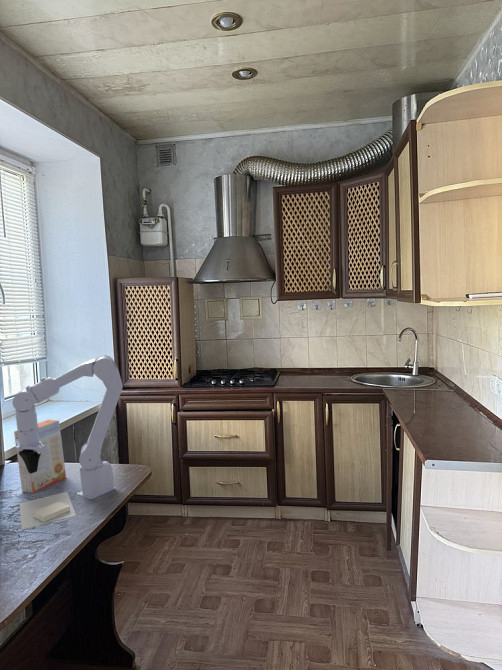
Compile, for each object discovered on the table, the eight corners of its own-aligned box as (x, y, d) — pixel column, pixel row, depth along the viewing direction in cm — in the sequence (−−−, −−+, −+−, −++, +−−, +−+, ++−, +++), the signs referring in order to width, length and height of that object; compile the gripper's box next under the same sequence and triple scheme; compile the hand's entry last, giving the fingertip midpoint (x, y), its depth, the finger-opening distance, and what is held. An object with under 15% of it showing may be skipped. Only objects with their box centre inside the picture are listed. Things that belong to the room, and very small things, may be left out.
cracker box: (54, 476, 171) (48, 419, 169) (66, 478, 168) (60, 420, 166) (20, 492, 158) (13, 430, 156) (33, 494, 155) (25, 431, 153)
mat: (19, 504, 148) (19, 503, 148) (67, 492, 155) (67, 491, 155) (22, 531, 131) (21, 529, 131) (75, 516, 137) (75, 515, 137)
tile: (58, 501, 144) (69, 505, 140) (59, 506, 144) (70, 511, 140) (32, 512, 138) (43, 517, 134) (33, 517, 138) (44, 522, 134)
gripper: (3, 429, 148) (8, 472, 149) (26, 436, 139) (31, 481, 140) (26, 423, 153) (30, 464, 154) (49, 429, 144) (54, 473, 145)
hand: (32, 472), depth 148 cm, fingers closed
